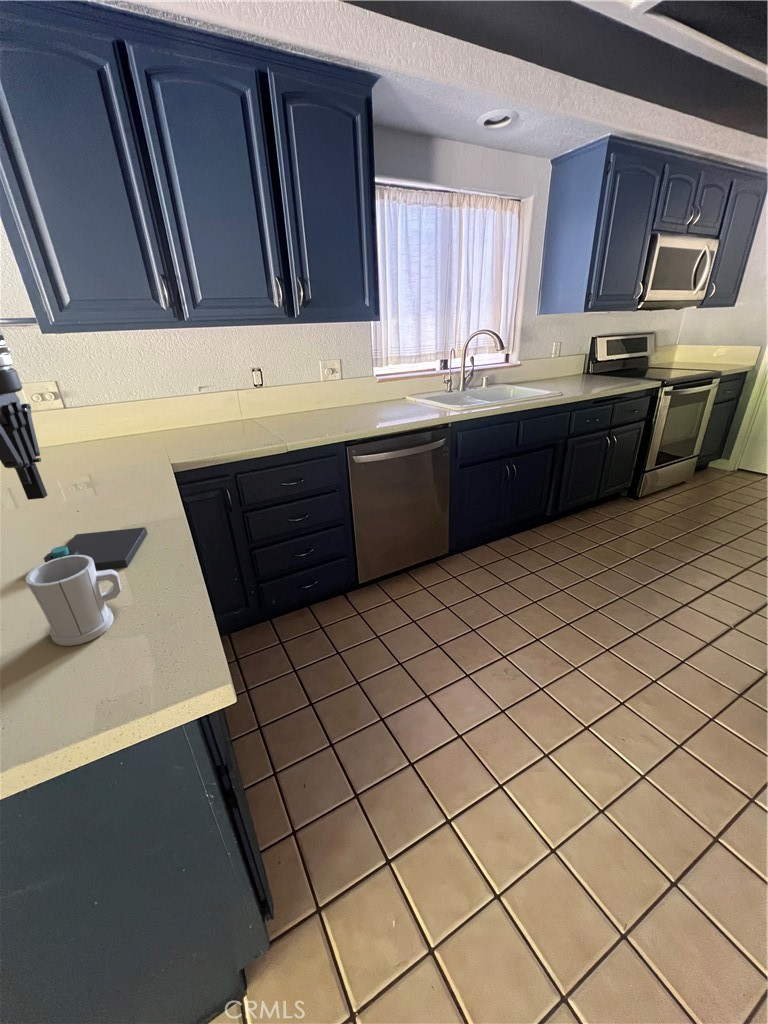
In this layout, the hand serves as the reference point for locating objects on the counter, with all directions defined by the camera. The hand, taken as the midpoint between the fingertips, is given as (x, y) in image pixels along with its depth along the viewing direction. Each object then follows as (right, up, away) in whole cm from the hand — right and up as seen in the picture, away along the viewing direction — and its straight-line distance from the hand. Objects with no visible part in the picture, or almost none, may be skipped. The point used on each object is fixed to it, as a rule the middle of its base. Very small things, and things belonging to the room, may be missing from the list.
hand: (37, 497), depth 82 cm
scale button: (0, -12, +6) cm, 13 cm away
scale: (+4, -12, +12) cm, 18 cm away
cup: (+16, -22, -9) cm, 29 cm away
